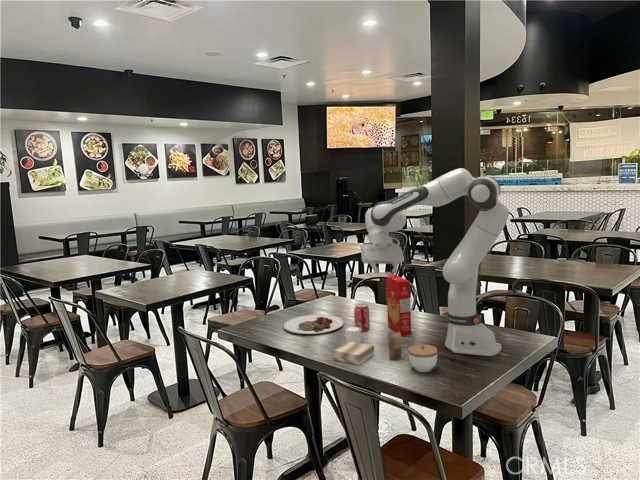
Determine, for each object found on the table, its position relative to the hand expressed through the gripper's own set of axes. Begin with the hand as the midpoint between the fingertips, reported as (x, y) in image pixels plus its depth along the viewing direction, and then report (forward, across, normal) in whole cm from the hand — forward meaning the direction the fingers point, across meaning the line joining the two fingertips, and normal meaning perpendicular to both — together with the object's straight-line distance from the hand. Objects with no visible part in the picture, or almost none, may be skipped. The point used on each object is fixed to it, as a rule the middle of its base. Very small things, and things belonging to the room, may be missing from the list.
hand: (386, 272), depth 203 cm
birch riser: (+32, -15, +12) cm, 38 cm away
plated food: (+10, -10, +54) cm, 55 cm away
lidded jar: (+42, 0, -10) cm, 43 cm away
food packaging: (+21, +19, +24) cm, 37 cm away
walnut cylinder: (+35, -2, +3) cm, 35 cm away
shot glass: (+25, -7, +24) cm, 35 cm away
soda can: (+17, +6, +35) cm, 40 cm away
